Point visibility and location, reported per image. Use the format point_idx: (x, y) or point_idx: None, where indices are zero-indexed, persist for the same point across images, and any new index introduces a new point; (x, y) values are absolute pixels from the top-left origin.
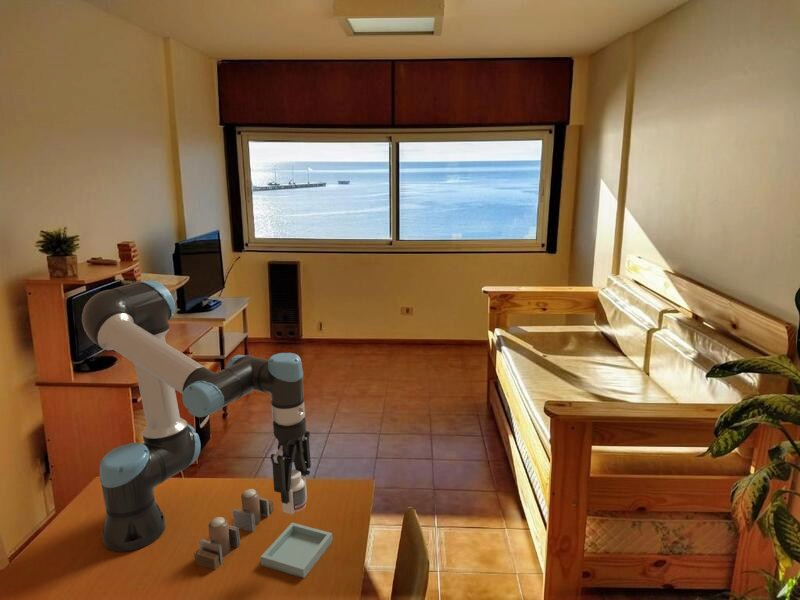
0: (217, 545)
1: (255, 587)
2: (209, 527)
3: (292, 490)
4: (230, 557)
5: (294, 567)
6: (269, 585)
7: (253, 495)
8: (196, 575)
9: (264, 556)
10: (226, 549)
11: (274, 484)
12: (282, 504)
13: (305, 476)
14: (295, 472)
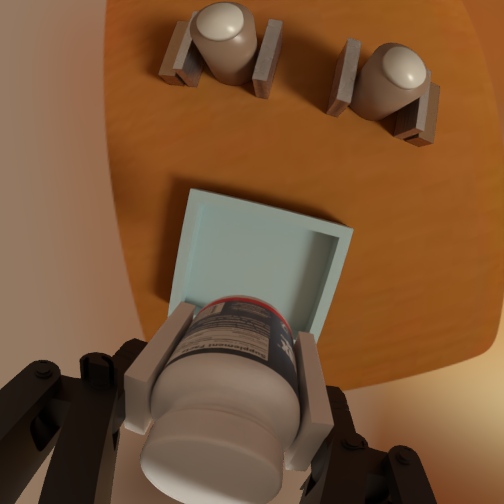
0: (177, 61)
1: (129, 205)
2: (200, 11)
3: (146, 428)
4: (215, 96)
5: (171, 292)
6: (140, 235)
7: (396, 82)
8: (150, 57)
9: (192, 199)
10: (221, 78)
11: (4, 392)
12: (168, 319)
13: (303, 468)
14: (239, 492)
